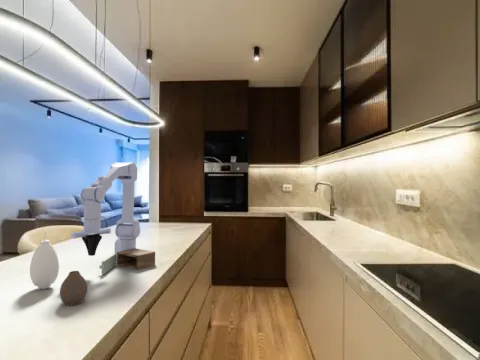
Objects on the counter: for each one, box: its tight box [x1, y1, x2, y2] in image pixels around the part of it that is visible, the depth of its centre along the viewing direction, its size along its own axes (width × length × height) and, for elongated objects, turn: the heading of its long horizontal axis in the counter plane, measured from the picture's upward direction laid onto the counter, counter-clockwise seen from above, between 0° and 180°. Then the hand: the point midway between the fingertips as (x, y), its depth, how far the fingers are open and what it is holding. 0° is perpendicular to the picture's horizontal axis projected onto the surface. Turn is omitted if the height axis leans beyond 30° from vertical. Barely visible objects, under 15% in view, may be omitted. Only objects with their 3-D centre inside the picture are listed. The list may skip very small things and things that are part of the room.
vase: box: [59, 270, 88, 306], centre depth 87 cm, size 7×7×9 cm
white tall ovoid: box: [29, 232, 60, 290], centre depth 99 cm, size 8×8×18 cm
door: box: [98, 253, 117, 275], centre depth 121 cm, size 14×2×5 cm, turn 4°
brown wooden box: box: [116, 247, 156, 271], centre depth 129 cm, size 13×9×6 cm
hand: (91, 255), depth 114 cm, fingers closed
